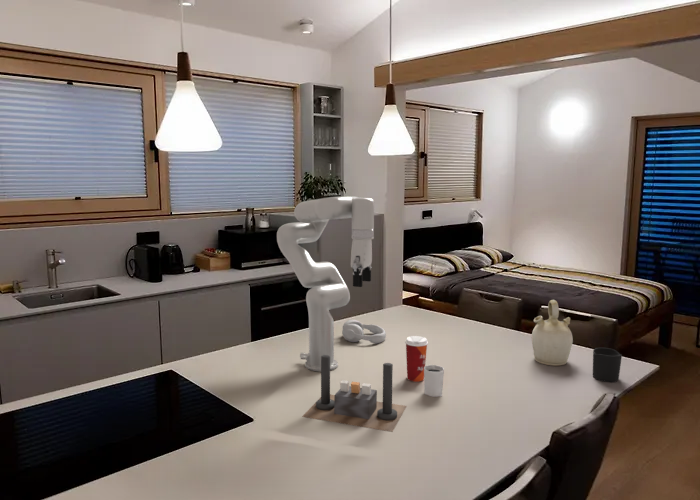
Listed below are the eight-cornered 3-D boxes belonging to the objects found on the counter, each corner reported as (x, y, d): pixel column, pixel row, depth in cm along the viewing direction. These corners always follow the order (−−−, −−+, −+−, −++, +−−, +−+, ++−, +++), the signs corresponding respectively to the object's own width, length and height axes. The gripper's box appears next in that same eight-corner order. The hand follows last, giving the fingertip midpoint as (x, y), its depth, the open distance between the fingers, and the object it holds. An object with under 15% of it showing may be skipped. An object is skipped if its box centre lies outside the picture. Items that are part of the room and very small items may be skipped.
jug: (529, 364, 209) (532, 302, 206) (531, 352, 223) (535, 294, 220) (571, 370, 204) (575, 306, 200) (571, 357, 218) (575, 297, 214)
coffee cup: (426, 383, 189) (427, 343, 187) (403, 381, 191) (404, 341, 189) (427, 375, 197) (428, 336, 195) (405, 373, 199) (406, 334, 197)
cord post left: (312, 408, 165) (312, 358, 163) (320, 401, 171) (320, 352, 169) (330, 411, 163) (331, 360, 161) (337, 403, 169) (338, 354, 167)
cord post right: (374, 418, 159) (375, 366, 156) (380, 410, 164) (380, 360, 162) (394, 421, 157) (395, 369, 154) (399, 413, 162) (400, 362, 160)
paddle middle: (351, 392, 163) (350, 384, 162) (352, 389, 164) (352, 381, 163) (358, 393, 162) (358, 385, 161) (360, 390, 163) (359, 382, 162)
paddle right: (362, 394, 161) (361, 385, 160) (363, 391, 163) (363, 383, 162) (369, 395, 161) (369, 386, 160) (371, 392, 162) (370, 384, 161)
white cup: (430, 402, 174) (431, 373, 172) (419, 395, 179) (419, 366, 178) (447, 398, 177) (448, 370, 175) (435, 391, 183) (436, 363, 181)
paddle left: (340, 390, 164) (339, 382, 163) (342, 388, 165) (341, 379, 164) (348, 391, 163) (347, 383, 162) (349, 389, 164) (348, 381, 163)
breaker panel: (302, 421, 160) (301, 397, 159) (324, 397, 177) (324, 376, 176) (392, 436, 151) (392, 411, 150) (406, 410, 168) (407, 387, 167)
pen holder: (623, 377, 196) (625, 351, 195) (614, 385, 189) (617, 358, 188) (596, 371, 202) (598, 346, 201) (587, 378, 196) (589, 351, 194)
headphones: (340, 343, 232) (385, 350, 232) (343, 326, 231) (388, 333, 231) (341, 331, 250) (383, 337, 250) (344, 315, 249) (386, 321, 249)
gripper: (360, 231, 190) (359, 278, 192) (343, 236, 174) (343, 288, 176) (380, 232, 188) (379, 279, 190) (365, 237, 171) (364, 289, 174)
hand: (362, 283), depth 183 cm, fingers open, 9 cm apart
